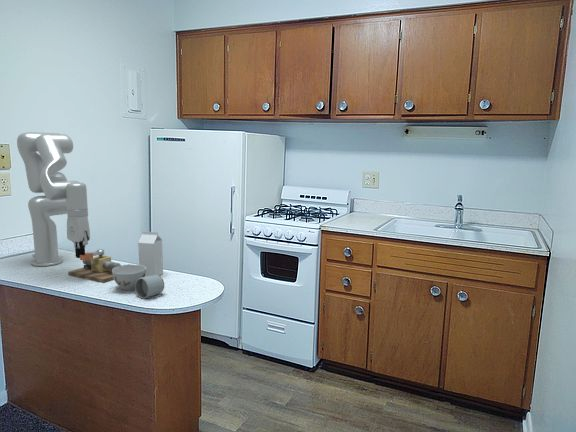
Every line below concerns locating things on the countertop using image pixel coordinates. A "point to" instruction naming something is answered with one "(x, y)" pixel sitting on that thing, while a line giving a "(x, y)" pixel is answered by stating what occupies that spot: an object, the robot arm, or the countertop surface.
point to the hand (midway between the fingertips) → (80, 257)
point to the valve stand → (96, 269)
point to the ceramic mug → (149, 286)
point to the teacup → (128, 275)
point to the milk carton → (151, 253)
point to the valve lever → (91, 255)
